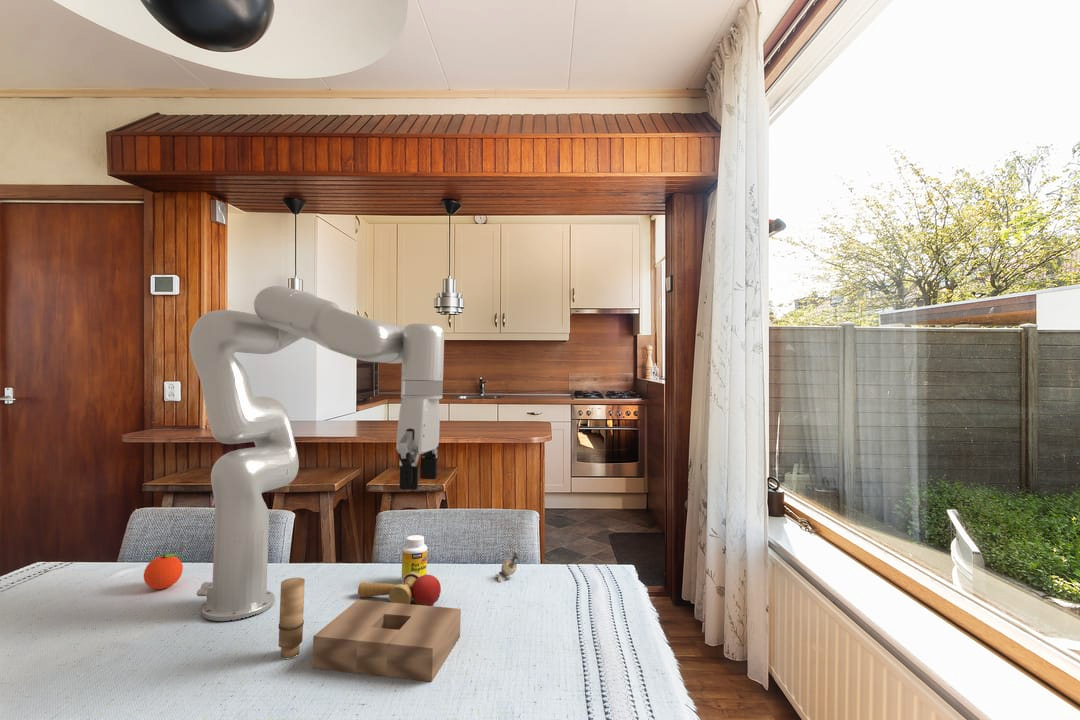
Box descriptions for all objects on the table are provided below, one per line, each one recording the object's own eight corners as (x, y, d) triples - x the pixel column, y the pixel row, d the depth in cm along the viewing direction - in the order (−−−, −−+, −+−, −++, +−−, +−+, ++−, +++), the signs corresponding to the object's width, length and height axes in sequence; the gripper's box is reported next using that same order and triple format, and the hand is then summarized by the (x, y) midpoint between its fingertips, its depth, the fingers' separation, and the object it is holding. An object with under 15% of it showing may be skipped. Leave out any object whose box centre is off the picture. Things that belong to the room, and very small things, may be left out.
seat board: (312, 668, 82) (313, 636, 82) (356, 626, 95) (357, 599, 96) (431, 681, 78) (432, 648, 79) (460, 637, 92) (460, 608, 93)
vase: (521, 573, 124) (522, 549, 123) (521, 584, 118) (522, 558, 118) (498, 573, 123) (499, 549, 123) (498, 584, 118) (499, 558, 118)
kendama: (349, 612, 104) (431, 610, 101) (350, 579, 106) (430, 575, 102) (370, 604, 112) (447, 601, 108) (371, 573, 113) (446, 569, 110)
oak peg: (272, 659, 84) (275, 585, 84) (287, 647, 88) (289, 576, 88) (293, 661, 83) (296, 586, 84) (307, 649, 87) (310, 578, 88)
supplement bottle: (409, 589, 113) (410, 542, 113) (396, 582, 117) (398, 537, 117) (431, 583, 117) (432, 537, 117) (418, 576, 121) (419, 532, 121)
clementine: (172, 578, 117) (174, 546, 117) (194, 583, 115) (195, 550, 115) (134, 591, 109) (136, 557, 110) (157, 596, 107) (158, 562, 107)
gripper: (419, 389, 104) (417, 474, 103) (382, 390, 87) (378, 492, 86) (455, 390, 103) (453, 476, 102) (424, 391, 86) (421, 494, 85)
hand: (419, 483), depth 94 cm, fingers open, 9 cm apart
